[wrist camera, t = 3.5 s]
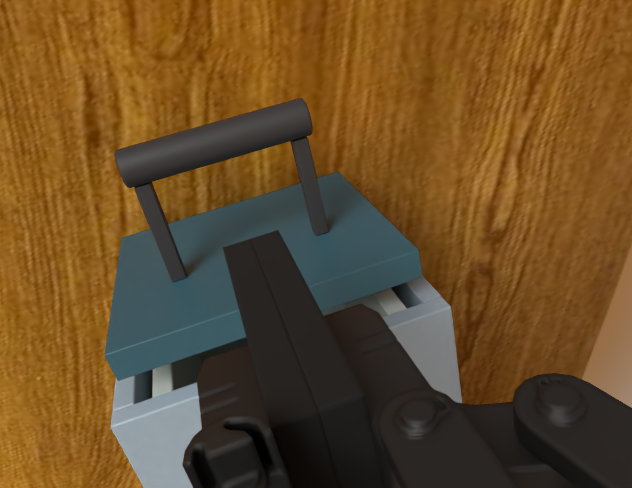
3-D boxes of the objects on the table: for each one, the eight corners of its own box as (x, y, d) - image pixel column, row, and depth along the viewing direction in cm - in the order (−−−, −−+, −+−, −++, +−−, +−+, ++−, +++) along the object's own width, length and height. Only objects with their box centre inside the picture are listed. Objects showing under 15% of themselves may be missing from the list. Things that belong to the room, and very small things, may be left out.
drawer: (74, 130, 24) (27, 206, 15) (316, 63, 25) (398, 99, 17) (205, 429, 32) (222, 585, 24) (378, 366, 34) (453, 491, 26)
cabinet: (126, 270, 28) (109, 427, 18) (351, 199, 30) (452, 306, 20) (210, 458, 35) (233, 650, 25) (389, 392, 36) (479, 544, 26)
